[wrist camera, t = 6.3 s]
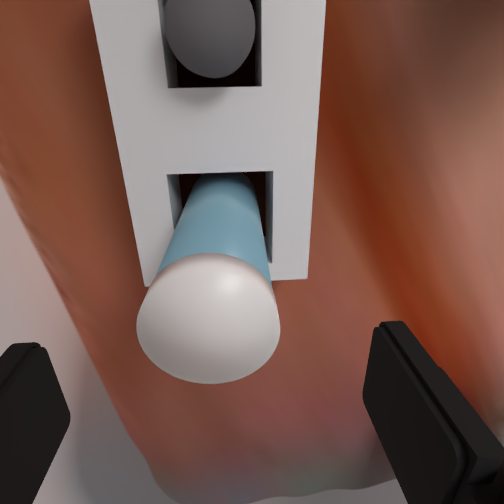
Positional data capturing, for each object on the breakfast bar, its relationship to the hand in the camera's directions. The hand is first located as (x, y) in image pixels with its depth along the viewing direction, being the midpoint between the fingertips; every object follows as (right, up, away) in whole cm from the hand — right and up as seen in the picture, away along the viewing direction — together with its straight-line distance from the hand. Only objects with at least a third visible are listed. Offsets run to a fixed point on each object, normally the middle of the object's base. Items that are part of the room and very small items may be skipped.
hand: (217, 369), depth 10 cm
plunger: (-1, +15, +8) cm, 17 cm away
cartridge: (-1, +7, +13) cm, 14 cm away
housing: (-1, +10, +11) cm, 15 cm away
